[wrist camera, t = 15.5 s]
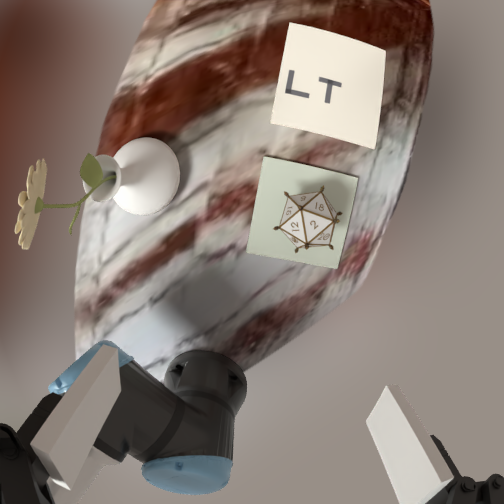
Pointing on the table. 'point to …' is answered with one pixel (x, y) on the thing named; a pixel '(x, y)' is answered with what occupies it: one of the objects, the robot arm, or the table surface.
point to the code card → (330, 85)
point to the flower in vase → (110, 183)
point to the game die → (308, 220)
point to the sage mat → (273, 203)
